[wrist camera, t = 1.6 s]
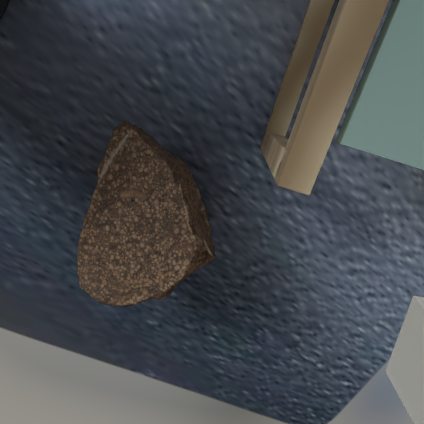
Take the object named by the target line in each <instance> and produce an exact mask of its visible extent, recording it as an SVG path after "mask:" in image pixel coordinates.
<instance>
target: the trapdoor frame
mask: <svg viewBox="0 0 424 424" xmlns="http://www.w3.org/2000/svg"><path fill="white" fill-rule="evenodd" d="M388 2H389V0H339V3H338V5H337V8H336V11H335V14H334V16H333V19H332V22H331V24H330V27H329V30H328V33H327V35H326V38H325V41H324V44H323V46H322V49H321V52H320V55H319V57H318V60H317V63H316V65H315V68H314V71H313V74H312V76H311V79H310V82H309V85H308V87H307V90H306V93H305V96H304V98H303V101H302V104H301V106H300V109H299V112H298V115H297V117H296V120H295V123H294V126H293V128H292V131H291V134H290V137H289V139H288V138H286V137H285V136H286V133H287V130H288V128H289V125H290V122H291V119H292V117H293V114H294V111H295V108H296V106H297V103H298V100H299V97H300V94H301V92H302V89H303V86H304V83H305V81H306V78H307V75H308V72H309V70H310V67H311V64H312V61H313V59H314V56H315V53H316V50H317V47H318V45H319V42H320V39H321V36H322V34H323V31H324V28H325V25H326V23H327V20H328V17H329V14H330V12H331V9H332V6H333V3H334V0H310V2H309V5H308V8H307V11H306V14H305V17H304V20H303V23H302V26H301V29H300V32H299V35H298V37H297V40H296V43H295V46H294V49H293V52H292V55H291V58H290V61H289V64H288V67H287V70H286V73H285V76H284V79H283V82H282V84H281V87H280V90H279V93H278V96H277V99H276V102H275V105H274V108H273V111H272V114H271V117H270V120H269V123H268V126H267V128H266V131H265V134H264V137H263V140H262V143H261V146H260V149H261V151H262V154H263V156H264V158H265V160H266V162H267V164H268V166H269V169H270V171H271V173H272V175H273V177H274V179H275V181H276V183H277V186H280V187H283V188H287V189H290V190H293V191H296V192H300V193H303V194H306V195H310V193H311V190H312V188H313V185H314V183H315V180H316V178H317V175H318V173H319V171H320V168H321V166H322V163H323V161H324V158H325V156H326V153H327V151H328V149H329V146H330V144H331V141H332V139H333V136H334V134H335V131H336V129H337V127H338V124H339V122H340V119H341V117H342V114H343V112H344V109H345V107H346V104H347V102H348V100H349V97H350V95H351V92H352V90H353V87H354V85H355V82H356V80H357V78H358V75H359V73H360V70H361V68H362V65H363V63H364V60H365V58H366V56H367V53H368V51H369V48H370V46H371V43H372V41H373V38H374V36H375V34H376V31H377V29H378V26H379V24H380V21H381V19H382V16H383V14H384V11H385V9H386V7H387V4H388Z"/></svg>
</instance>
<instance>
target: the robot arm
mask: <svg viewBox="0 0 424 424" xmlns="http://www.w3.org/2000/svg"><path fill="white" fill-rule="evenodd" d="M8 1H9V0H0V18H1V16H2V14H3V12H4V11H5V8H6V6H7V4H8ZM385 372H386V374H387V375H388V377H389V379H390V381H391V383H392V385H393V386H394V388H395V390H396V392H397V394H398V396H399V397H400V399H401V401H402V403H403V405H404V407H405V409H406V410H407V412H408V414H409V416H410V418H411V420H412V421H413V423H414V424H424V297H419V296H413V298H412V301H411V303H410V306H409V309H408V311H407V314H406V317H405V319H404V322H403V325H402V328H401V330H400V333H399V336H398V338H397V341H396V344H395V346H394V349H393V352H392V355H391V357H390V360H389V363H388V365H387V368H386V371H385Z"/></svg>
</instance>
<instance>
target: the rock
mask: <svg viewBox="0 0 424 424" xmlns="http://www.w3.org/2000/svg"><path fill="white" fill-rule="evenodd" d="M97 175H98V184H97V186H96V188H95V191H94V193H93V195H92V200H91V202H90V206H89V209H88V213H87V215H86V217H85V220H84V221H83V230H82V232H81V234H80V238H79V247H78V258H77V268H78V275H79V285H80V288H82V289H83V290H84V291H86V292H87V293H89V294H90V295H91V297H92V298H93V299H95V300H96V301H98V302H100V303H103V304H106V305H113V306H120V305H121V306H122V307H126V306H132V305H133V304H137V303H143V302H145V301H147V300H152V299H166V298H167V297H168V296H169V295H170V294H171V293H172V291H173V289H174V288H175V286H177V285H179V284H180V283H181V282H182V281H183V280H184V279H186V278H187V277H188V276H189V275H190V274H191V273H192V272H194V271H196V270H197V269H198V268H200V267H202V266H204V265H206V264H208V263H209V262H210V261H211V260H213V259H214V258H215V250H214V247H213V243H212V236H211V230H210V226H211V225H210V224H209V215H208V212H207V209H206V208H205V206H204V204H203V201H202V199H201V197H200V193H199V187H198V185H197V184H196V183H195V181H194V179H193V177H192V175H191V173H190V170H189V168H188V166H187V163H186V162H184V161H183V160H181V159H180V158H178V157H176V156H173V155H171V154H170V153H169V151H167V150H166V149H164V148H163V147H161V146H160V145H159V144H158V143H157V141H156V140H155V139H154V138H153V137H151V136H150V135H148V134H147V133H145V132H144V131H143V130H142V129H140V128H138V127H137V126H135V125H132V124H131V123H129V122H128V121H126V120H125V121H124V122H123V123H122V124H120V125H118V126H117V127H116V128H115V129H114V131H113V136H112V138H111V140H110V141H109V143H108V146H107V149H106V154H105V157H104V158H103V160H102V161H101V163H100V165H99V166H98V168H97Z"/></svg>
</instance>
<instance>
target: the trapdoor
mask: <svg viewBox="0 0 424 424" xmlns="http://www.w3.org/2000/svg"><path fill="white" fill-rule="evenodd" d="M335 142H337V143H339V144H342V145H345V146H348V147H352V148H355V149H358V150H361V151H364V152H368V153H371V154H374V155H377V156H380V157H384V158H387V159H390V160H393V161H396V162H400V163H403V164H406V165H409V166H412V167H416V168H419V169H422V170H424V0H394V1H393V3H392V5H391V8H390V10H389V13H388V15H387V17H386V20H385V22H384V25H383V27H382V30H381V32H380V34H379V37H378V39H377V42H376V44H375V47H374V49H373V51H372V54H371V56H370V59H369V61H368V64H367V66H366V68H365V71H364V73H363V76H362V78H361V81H360V83H359V85H358V88H357V90H356V93H355V95H354V97H353V100H352V102H351V105H350V107H349V110H348V112H347V114H346V117H345V119H344V122H343V124H342V127H341V129H340V131H339V134H338V136H337V139H336V141H335Z"/></svg>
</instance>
